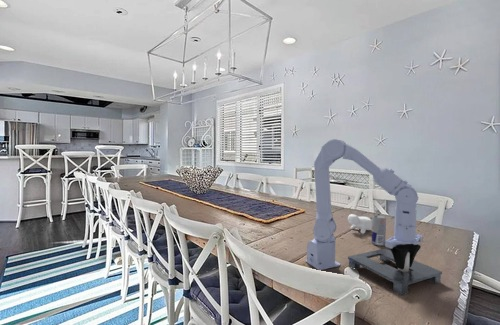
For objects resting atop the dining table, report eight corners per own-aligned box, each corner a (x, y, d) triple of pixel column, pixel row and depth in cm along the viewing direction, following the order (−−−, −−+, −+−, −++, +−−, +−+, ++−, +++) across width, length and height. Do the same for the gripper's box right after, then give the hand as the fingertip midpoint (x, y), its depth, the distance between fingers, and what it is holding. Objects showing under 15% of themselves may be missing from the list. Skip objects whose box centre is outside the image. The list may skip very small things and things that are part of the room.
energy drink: (373, 240, 115) (373, 214, 114) (386, 243, 112) (387, 216, 111) (369, 244, 111) (370, 216, 110) (383, 247, 107) (384, 218, 107)
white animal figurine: (361, 233, 135) (340, 225, 130) (366, 217, 136) (345, 209, 131) (375, 238, 127) (353, 230, 122) (380, 221, 128) (358, 213, 123)
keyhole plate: (401, 296, 72) (402, 284, 71) (347, 266, 90) (348, 256, 90) (441, 282, 79) (442, 271, 79) (384, 257, 97) (384, 248, 97)
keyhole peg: (405, 282, 77) (406, 256, 77) (390, 275, 82) (391, 250, 82) (416, 279, 79) (417, 253, 79) (401, 272, 84) (402, 247, 84)
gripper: (401, 230, 73) (399, 277, 74) (433, 224, 79) (431, 268, 80) (379, 224, 80) (378, 267, 80) (411, 219, 86) (409, 259, 86)
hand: (403, 266), depth 81 cm, fingers closed on keyhole peg, 3 cm apart
